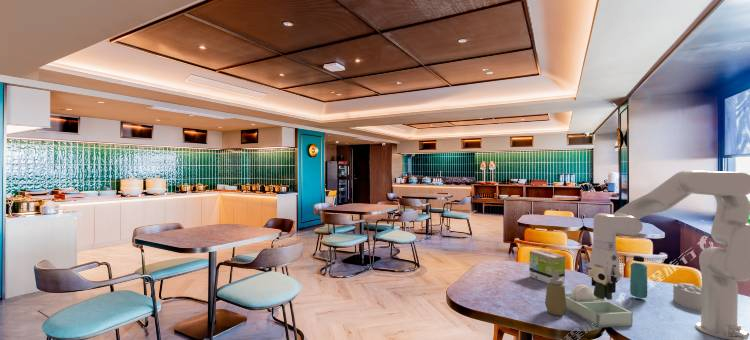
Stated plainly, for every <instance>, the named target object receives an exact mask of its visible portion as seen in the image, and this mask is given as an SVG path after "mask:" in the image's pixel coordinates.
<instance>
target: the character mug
mask: <svg viewBox="0 0 750 340" xmlns="http://www.w3.org/2000/svg"><path fill="white" fill-rule="evenodd" d="M591 272H593V275H591ZM611 274H613V270H612V272H611ZM587 277H588V278H591V279H592V278H593V280H594V281H596V284H595V286H594V289H593V290H594V296H595V297H597V298H600V299H605V300H607V301H610V300H613V293H608V292H607V282H609V281H608V278H607V275H605V271H604V268H602V267H598V266H595V265H594V264H593V269H589V268H588V270H587ZM610 277H611V279H612V276H610Z"/></svg>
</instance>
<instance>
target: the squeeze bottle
mask: <svg viewBox="0 0 750 340" xmlns="http://www.w3.org/2000/svg"><path fill="white" fill-rule="evenodd" d="M565 293H566V288H565V285H564V283H562V279H560V278H559V274H558V270H555V271H554V274H553V277H551V278H550V282H549V283H546V292H545V299H544V301H545V302H544V304H545V307H546V311H547V313H548V314H551V315H553V316H560V317H561V316H563V315H564V313H565V312H566V310H567V309H566V296H565Z"/></svg>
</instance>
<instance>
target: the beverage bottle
mask: <svg viewBox="0 0 750 340" xmlns="http://www.w3.org/2000/svg"><path fill="white" fill-rule="evenodd" d="M632 260H633V261H634V262H632V263H631V264H630V274H629V276H630V278H629V283H630V284H629V286H630V287H629V288H630V289H629V293H630V296H632V297H634V298H639V299H646V298H648V290H649V289H648V265H646V264H644V263H645V257H644V256H640V255H634V256H633V259H632Z"/></svg>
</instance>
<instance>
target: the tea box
mask: <svg viewBox="0 0 750 340" xmlns="http://www.w3.org/2000/svg"><path fill="white" fill-rule="evenodd" d="M555 270H558V274H559V278H560V279H562V284H565V282H566V281H565V280H566V279H565V278H566V256H565V255H562V254H559V253H555V252H551V251H547V250H545V249H537V250H531V251H529V269H528V271H529V273H528V274H529V278H533V279H535V280H538V281H541V282H543V283H546V284H548V283H549V282H550V278H551V277H553V274H554V271H555Z"/></svg>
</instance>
